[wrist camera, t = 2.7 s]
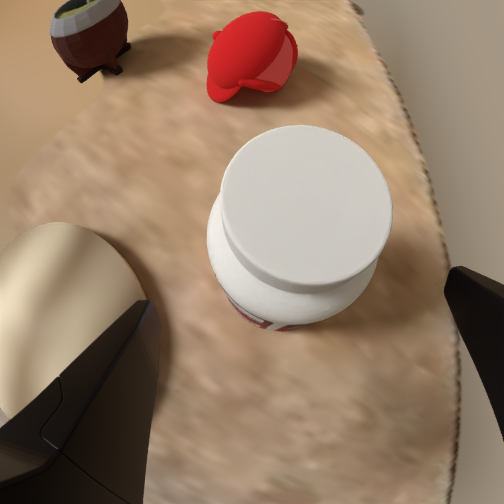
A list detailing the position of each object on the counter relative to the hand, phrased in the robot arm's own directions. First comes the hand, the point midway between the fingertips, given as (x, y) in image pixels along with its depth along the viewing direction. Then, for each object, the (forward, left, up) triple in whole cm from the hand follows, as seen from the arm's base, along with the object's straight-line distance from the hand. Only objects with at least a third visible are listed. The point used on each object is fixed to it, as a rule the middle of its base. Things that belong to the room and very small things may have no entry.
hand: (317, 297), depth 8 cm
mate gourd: (+22, -18, -10) cm, 30 cm away
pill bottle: (+1, -2, -10) cm, 10 cm away
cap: (+7, -17, -10) cm, 21 cm away
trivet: (+14, +6, -10) cm, 18 cm away
